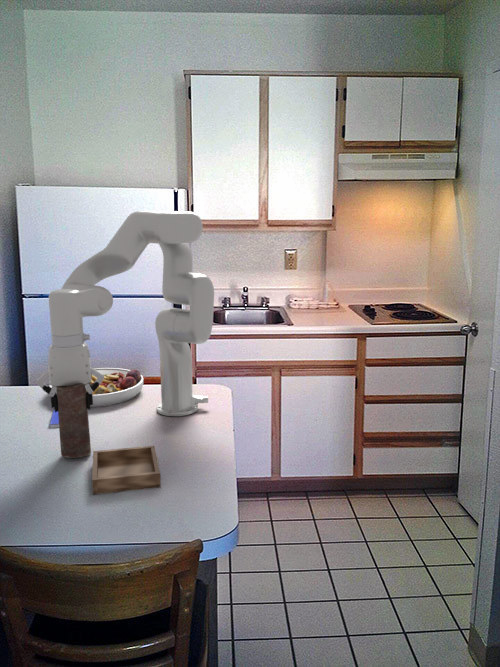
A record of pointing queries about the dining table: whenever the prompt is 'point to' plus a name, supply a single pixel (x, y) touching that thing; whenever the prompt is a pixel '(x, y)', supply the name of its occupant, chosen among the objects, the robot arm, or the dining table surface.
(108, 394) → the bowl
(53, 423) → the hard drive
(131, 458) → the wooden tray
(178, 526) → the dining table surface
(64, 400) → the candle
